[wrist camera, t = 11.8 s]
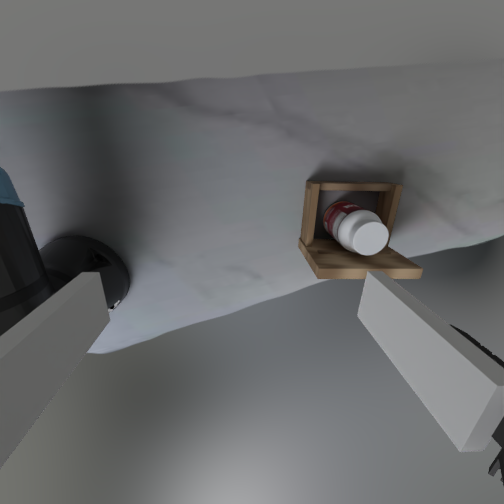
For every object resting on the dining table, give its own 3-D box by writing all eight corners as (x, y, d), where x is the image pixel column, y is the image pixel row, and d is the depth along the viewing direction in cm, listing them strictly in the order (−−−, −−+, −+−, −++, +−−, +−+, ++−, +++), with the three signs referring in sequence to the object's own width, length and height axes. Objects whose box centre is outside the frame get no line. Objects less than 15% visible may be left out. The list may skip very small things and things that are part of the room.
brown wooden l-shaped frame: (298, 246, 43) (317, 278, 32) (304, 180, 39) (329, 192, 28) (374, 247, 44) (420, 278, 33) (389, 182, 40) (446, 193, 29)
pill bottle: (364, 208, 41) (405, 226, 31) (345, 240, 43) (378, 267, 33) (333, 194, 40) (364, 208, 30) (315, 227, 42) (339, 251, 32)
